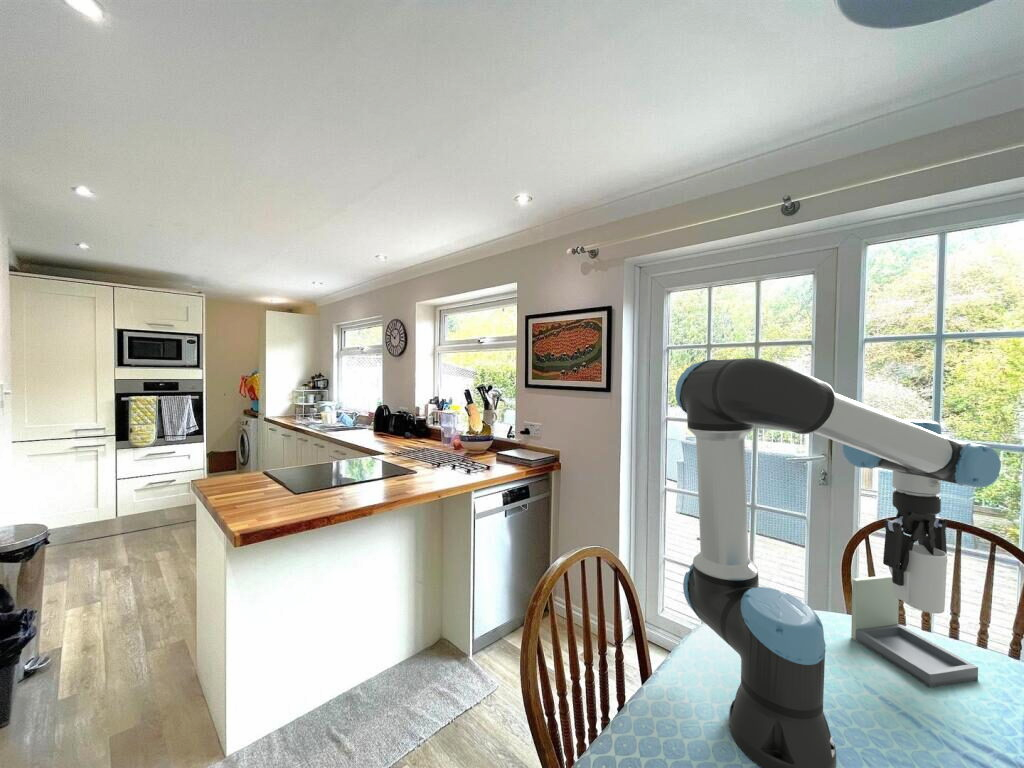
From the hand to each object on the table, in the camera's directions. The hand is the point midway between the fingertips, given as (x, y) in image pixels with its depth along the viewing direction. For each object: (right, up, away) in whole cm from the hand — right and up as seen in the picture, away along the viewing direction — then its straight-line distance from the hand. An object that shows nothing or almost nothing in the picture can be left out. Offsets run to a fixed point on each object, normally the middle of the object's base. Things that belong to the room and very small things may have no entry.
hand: (914, 597), depth 91 cm
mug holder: (0, -14, 0) cm, 14 cm away
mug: (0, -1, 0) cm, 1 cm away
